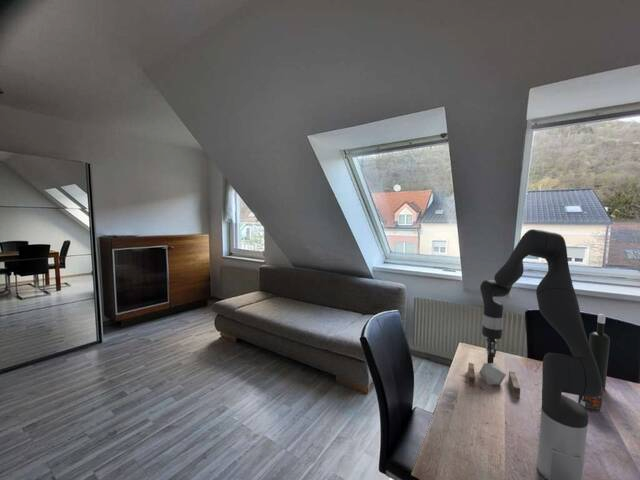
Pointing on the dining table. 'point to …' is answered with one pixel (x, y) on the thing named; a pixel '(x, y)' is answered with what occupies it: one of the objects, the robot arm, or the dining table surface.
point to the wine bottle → (600, 348)
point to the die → (492, 374)
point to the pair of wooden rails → (512, 380)
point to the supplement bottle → (591, 402)
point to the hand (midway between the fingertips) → (490, 363)
